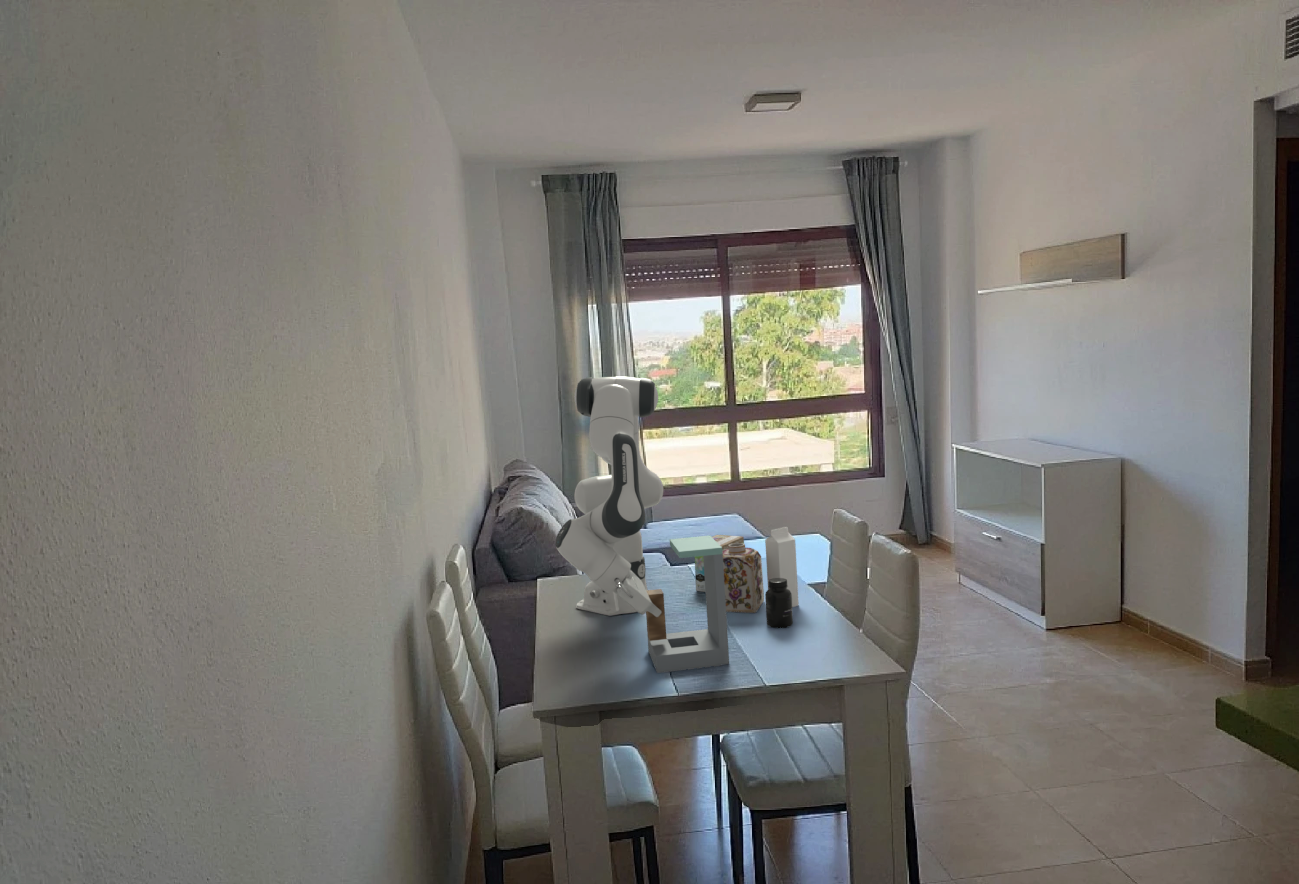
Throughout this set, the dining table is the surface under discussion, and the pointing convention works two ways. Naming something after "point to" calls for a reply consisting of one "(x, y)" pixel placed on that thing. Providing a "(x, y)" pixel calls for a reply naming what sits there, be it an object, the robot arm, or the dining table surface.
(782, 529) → the milk
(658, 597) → the walnut peg
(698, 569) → the tea box
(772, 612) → the supplement bottle
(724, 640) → the socket stand
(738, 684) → the dining table surface
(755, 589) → the decorative jar
